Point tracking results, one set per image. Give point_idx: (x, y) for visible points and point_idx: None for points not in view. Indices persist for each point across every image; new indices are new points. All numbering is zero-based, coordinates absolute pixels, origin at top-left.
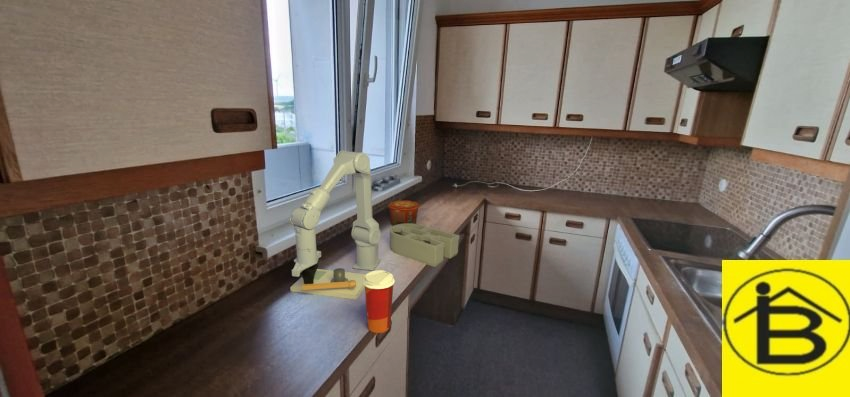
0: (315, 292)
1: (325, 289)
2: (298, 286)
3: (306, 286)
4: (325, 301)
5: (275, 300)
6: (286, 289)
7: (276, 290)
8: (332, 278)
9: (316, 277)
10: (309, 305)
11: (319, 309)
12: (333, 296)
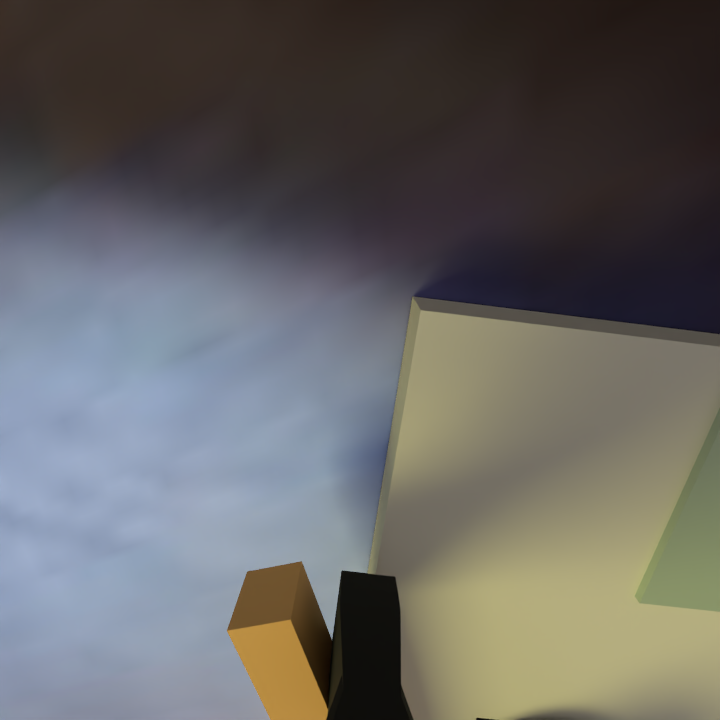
0: None
1: None
2: (447, 419)
3: (255, 667)
4: None
5: (149, 192)
6: (466, 211)
7: (428, 54)
8: (657, 707)
9: (704, 565)
10: (157, 587)
11: (122, 669)
12: None
